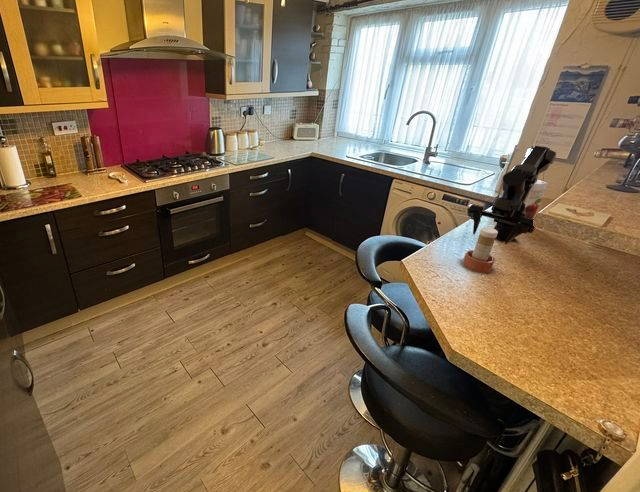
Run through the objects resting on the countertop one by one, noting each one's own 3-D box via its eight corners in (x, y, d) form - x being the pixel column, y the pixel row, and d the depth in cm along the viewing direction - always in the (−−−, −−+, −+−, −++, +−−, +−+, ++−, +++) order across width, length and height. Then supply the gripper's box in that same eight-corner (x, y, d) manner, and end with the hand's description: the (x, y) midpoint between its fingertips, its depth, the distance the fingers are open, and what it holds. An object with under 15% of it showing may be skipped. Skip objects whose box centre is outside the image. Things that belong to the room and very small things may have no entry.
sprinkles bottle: (476, 260, 112) (488, 225, 107) (488, 267, 108) (501, 231, 103) (465, 262, 111) (477, 227, 105) (478, 269, 107) (491, 233, 101)
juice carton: (501, 218, 145) (516, 178, 137) (518, 217, 145) (534, 177, 137) (516, 226, 138) (533, 184, 130) (534, 225, 139) (552, 183, 131)
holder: (479, 259, 113) (483, 249, 112) (496, 272, 106) (500, 262, 104) (457, 260, 113) (460, 250, 112) (473, 273, 106) (476, 262, 104)
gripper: (477, 182, 111) (457, 219, 110) (547, 196, 99) (526, 239, 97) (477, 197, 119) (458, 233, 118) (542, 212, 107) (522, 252, 105)
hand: (489, 238), depth 109 cm, fingers open, 9 cm apart
